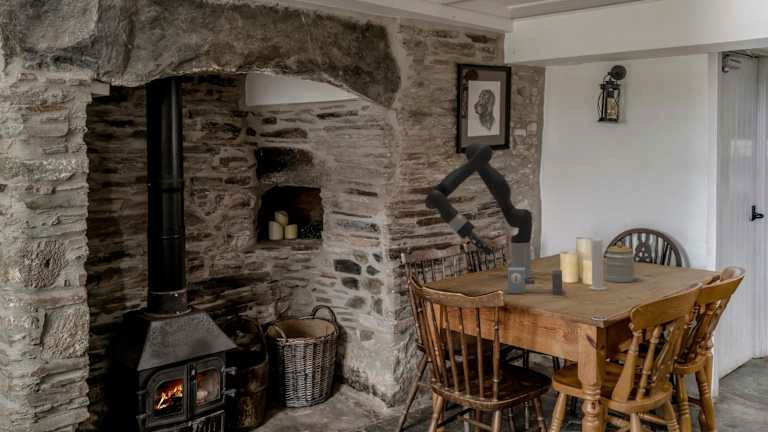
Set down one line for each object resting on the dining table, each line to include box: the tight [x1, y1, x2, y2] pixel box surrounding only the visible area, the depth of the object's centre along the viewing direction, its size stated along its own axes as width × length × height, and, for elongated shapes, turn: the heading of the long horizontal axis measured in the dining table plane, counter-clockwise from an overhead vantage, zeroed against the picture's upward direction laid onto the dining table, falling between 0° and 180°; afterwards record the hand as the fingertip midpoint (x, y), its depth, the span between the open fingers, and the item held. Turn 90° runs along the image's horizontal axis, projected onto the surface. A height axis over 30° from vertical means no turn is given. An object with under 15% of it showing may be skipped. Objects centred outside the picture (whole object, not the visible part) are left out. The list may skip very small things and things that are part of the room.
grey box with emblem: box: [507, 267, 535, 293], centre depth 310 cm, size 6×11×10 cm, turn 76°
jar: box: [604, 241, 636, 283], centre depth 331 cm, size 13×13×18 cm
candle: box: [588, 231, 607, 291], centre depth 314 cm, size 7×7×25 cm
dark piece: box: [498, 269, 566, 297], centre depth 309 cm, size 12×28×10 cm, turn 76°
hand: (490, 253), depth 312 cm, fingers open, 2 cm apart
